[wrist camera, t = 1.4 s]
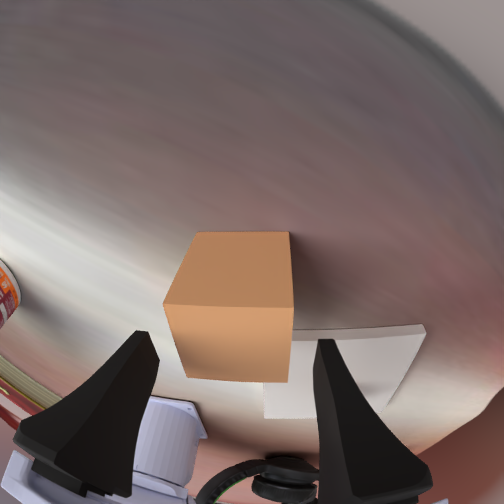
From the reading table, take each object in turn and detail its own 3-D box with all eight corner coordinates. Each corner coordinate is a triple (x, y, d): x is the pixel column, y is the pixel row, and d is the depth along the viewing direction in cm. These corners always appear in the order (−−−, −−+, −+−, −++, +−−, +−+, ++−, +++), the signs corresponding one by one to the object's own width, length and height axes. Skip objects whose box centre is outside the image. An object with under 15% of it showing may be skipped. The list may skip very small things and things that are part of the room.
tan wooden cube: (286, 303, 18) (287, 382, 13) (208, 301, 19) (186, 377, 13) (288, 231, 16) (293, 307, 10) (197, 232, 16) (162, 303, 11)
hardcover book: (75, 422, 39) (68, 439, 35) (-11, 363, 34) (-20, 378, 31) (76, 403, 33) (67, 424, 29) (-23, 331, 28) (-36, 348, 25)
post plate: (380, 404, 25) (386, 436, 21) (264, 410, 26) (262, 444, 22) (422, 323, 19) (439, 364, 15) (263, 330, 20) (259, 377, 16)
